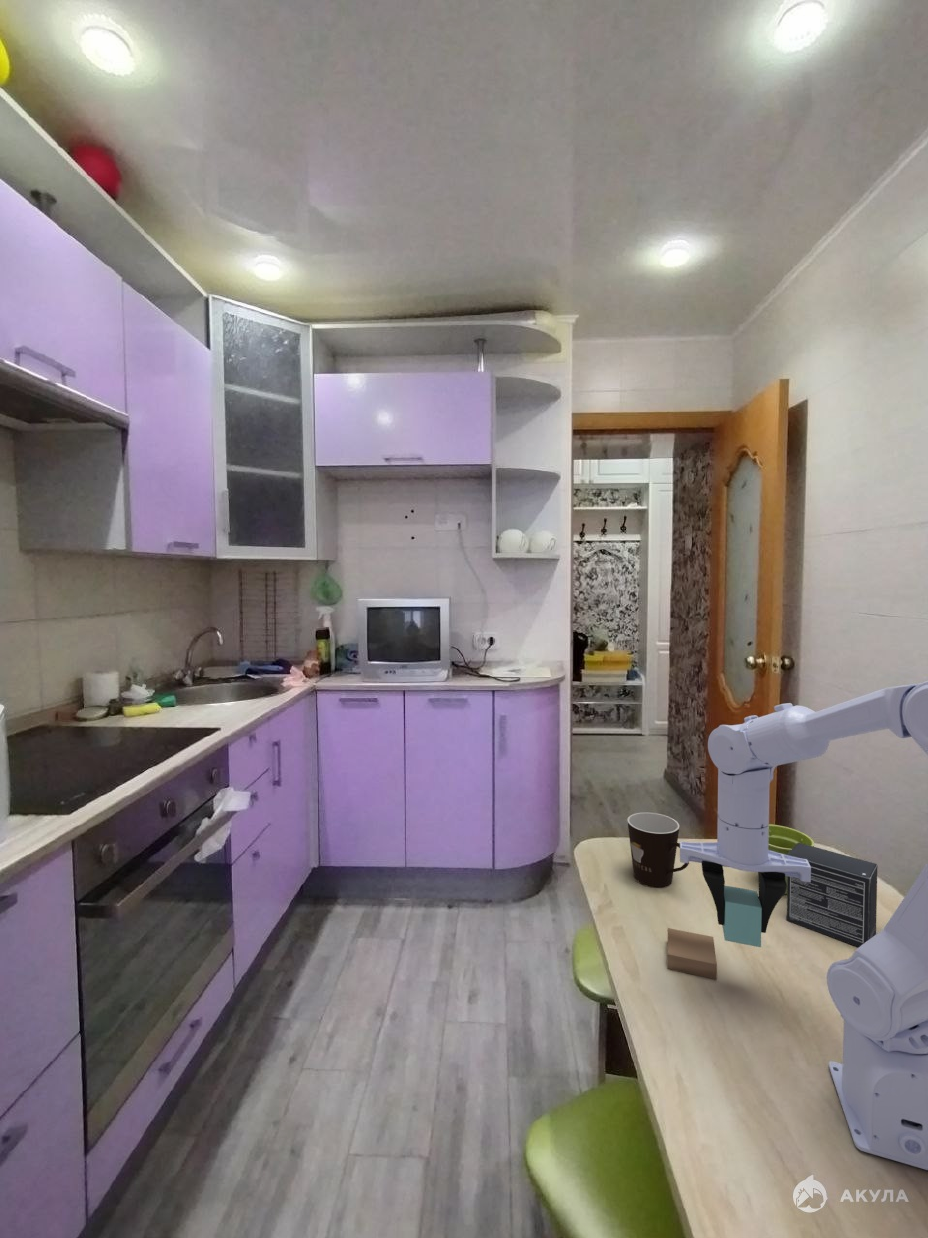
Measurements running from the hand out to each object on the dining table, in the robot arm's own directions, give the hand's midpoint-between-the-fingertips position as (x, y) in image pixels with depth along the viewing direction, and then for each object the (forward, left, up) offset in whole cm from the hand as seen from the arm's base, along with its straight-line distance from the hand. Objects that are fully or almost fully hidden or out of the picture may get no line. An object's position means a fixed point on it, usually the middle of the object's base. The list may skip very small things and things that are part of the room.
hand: (741, 924), depth 69 cm
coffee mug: (+23, +11, -9) cm, 27 cm away
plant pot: (+29, -9, -9) cm, 31 cm away
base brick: (+4, +6, -8) cm, 11 cm away
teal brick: (0, 0, -1) cm, 1 cm away
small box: (+19, -14, -9) cm, 25 cm away
